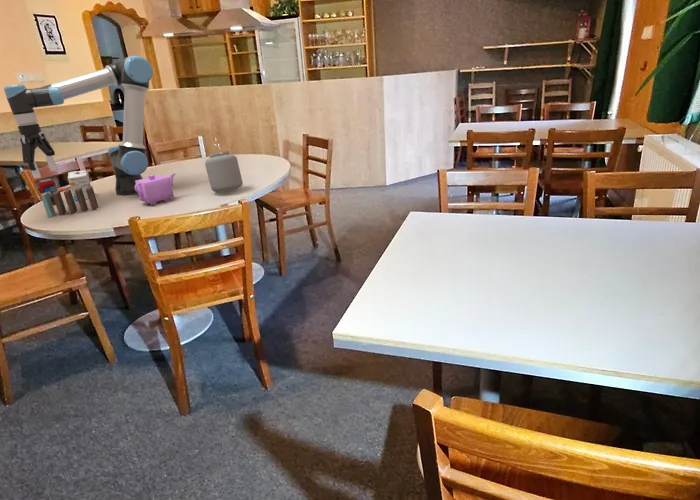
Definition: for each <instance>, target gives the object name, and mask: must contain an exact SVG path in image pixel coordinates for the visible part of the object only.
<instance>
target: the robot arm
mask: <svg viewBox="0 0 700 500" xmlns="http://www.w3.org/2000/svg"><path fill="white" fill-rule="evenodd" d="M153 72H154V71H153V67H152V65H151V64H150V62H149V61H148V60H147V59H146V58H144V57H142V56H139V55H129V56H126V57H123V58H121V59H119V60H118V61H115V62H113V63H110V64H108V65H105V68H102V69H98V70H95V71H91V72H88V73H85V74H81V75H77V76H74V77H71V78H68V79H64V80H62V81H61V80H60V81H57V82H54V83H50V84H47V85H44V86H41V87H35V88H27V87H26V85H25V84H24V83H23V84H11V85H6V86H4V88H3V91H4V94H5V98H6V100H7V102H8V104H9V108H10V109H11V112H12V115H13V118H14V120H15V124H16V125H18V126H17V128H18V131H19V135H21V136H24V138H22V137H21V138H20V139H19V141H20V143H21V152H22V162H23V163H24V164H28V168H29V169H30V171H31V174H32V175H31V176H32V177H33V179H40V178H42V175H41V173H40V170H39V167H38V165H37V162H36V161H35V154H36V149H37V148H38V149H39V150H40V151H41V152H43V154H44V155H45V160H46V163H47V165H48V168H49V170H50V172H55V171H56V172H57V171H58V167H57V165H56V162H55V159H54V157H53V156H55V155H56V153H55V150H54V148H53V147H52V145H51V144H50V143H49V141H48V139H47V138H46V135H45V134H44V133H41V132H42V129H41V127H40V124H39V123H38V121H39V120H38V118H37V116H36V112H35V110H34V109H35V108H36V109H37V108H45V107H52V106H56V107H57V106H60V105H63V104H64V103H65V101H66V100H68V99H72V98H74V97H79V96H81V95H84V94H87V93H92V92H94V91H97V90H101V89H104V88H107V87H111V86H115V87H118V86H122V88H124V98H123V99H124V101H123V126H122V128H123V129H122V130H123V131H122V141H121V142H120V143H119V144H118V146H116V147H110V148H109V149H108V150H107V151H108V157H109V160H110V163H111V166H112V170H113V173H114V176H115V188H114V189H115V194H116V195H117V196H118V195H119V196H127V195H134V194H139V193H138V192H136V190H135V185H136V183H135V181H137V180H141V179H144V177H143V176H142V174H143V173H145V172H146V170H147V169H148V167H149V160H148V157H147V154H146V153H147V152H146V151H147V150H146V149H147V148H146V146H145V145H144V141H143V140H144V125H145V123H144V120H145V119H144V118H145V104H146V103H145V99H146V92H147V91H149V90H150V81H151V79H152V78H153V74H154V73H153Z"/></svg>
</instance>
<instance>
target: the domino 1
mask: <svg viewBox="0 0 700 500" xmlns="http://www.w3.org/2000/svg"><path fill="white" fill-rule="evenodd" d="M40 198H41V201H42V204H43V207H44V209H45V212H46V215H47V217H48V218H52V217H54V216H56V214H57V213H56V211H55V208H54V205H52V202H51V199H50V196H49V193H48V192H47V193H43V194H42V193H41V194H40Z"/></svg>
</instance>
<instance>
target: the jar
mask: <svg viewBox="0 0 700 500" xmlns="http://www.w3.org/2000/svg"><path fill="white" fill-rule="evenodd" d="M214 138H215V142H216V141H217V138H216V137H214ZM217 145H218V148H219V149H221V148H220V144H219V143H218V144H217ZM217 145H216V144H214V146H217ZM204 162H205V163H204V164H205V169H206V173H207V178H208V181H209V186H210V189H211V191H213V192H214V193H221V192H227V191H231V190H235V189H236V190H237V189H238V188H241V187H242V186H243V185H244V184H243V179H242V175H241V170H240V166H239V161H238V157H237V156H236V155H234V154H230V151H229V150H225V151H220V152H215V153H210V154H209V158H207V159H206V160H205V161H204Z"/></svg>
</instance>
